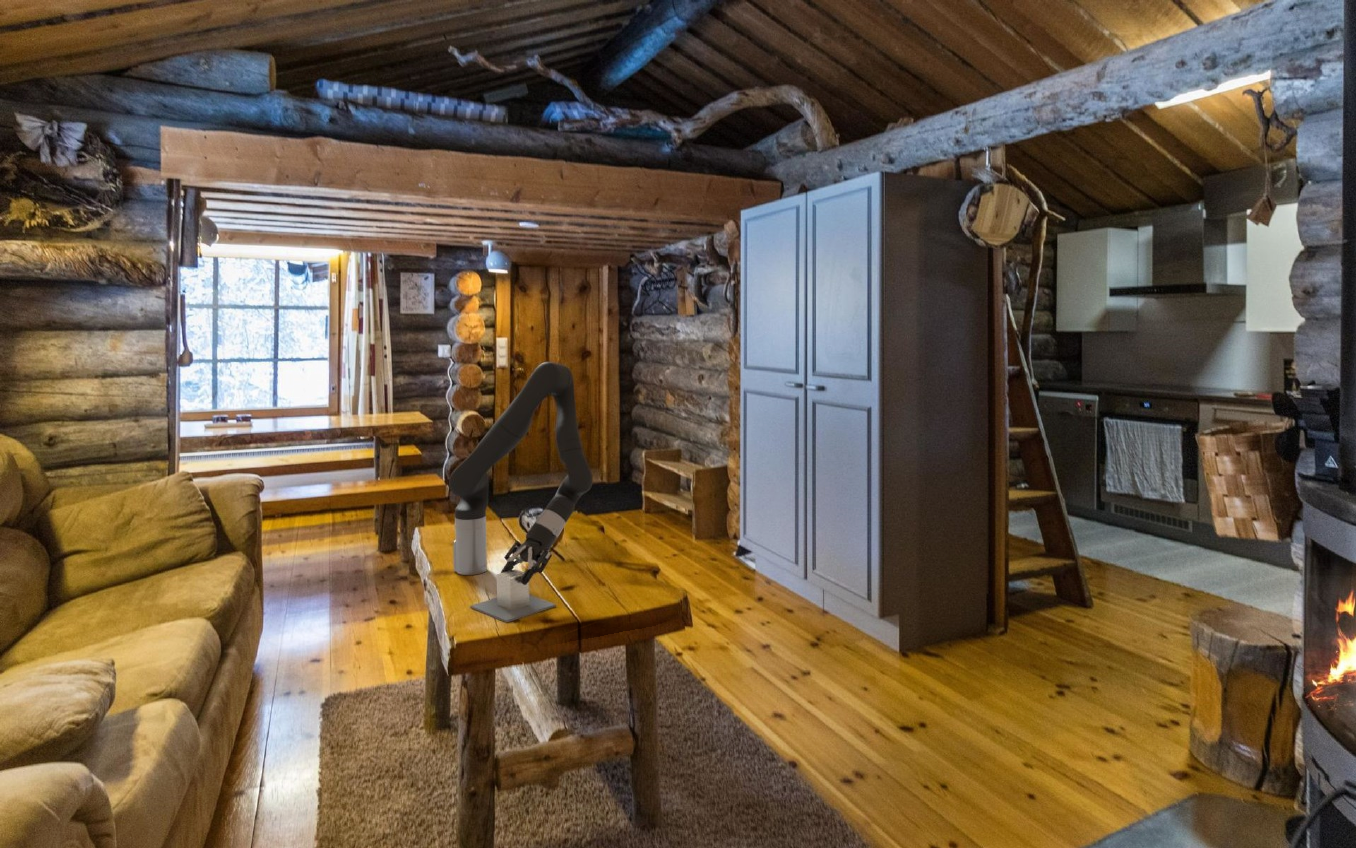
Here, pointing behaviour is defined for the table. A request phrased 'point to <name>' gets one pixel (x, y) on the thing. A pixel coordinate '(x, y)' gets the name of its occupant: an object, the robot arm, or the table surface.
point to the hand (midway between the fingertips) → (512, 579)
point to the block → (512, 590)
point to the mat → (510, 615)
